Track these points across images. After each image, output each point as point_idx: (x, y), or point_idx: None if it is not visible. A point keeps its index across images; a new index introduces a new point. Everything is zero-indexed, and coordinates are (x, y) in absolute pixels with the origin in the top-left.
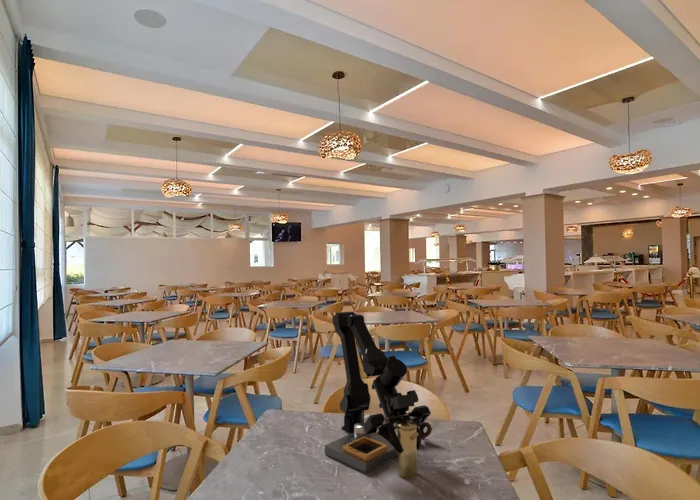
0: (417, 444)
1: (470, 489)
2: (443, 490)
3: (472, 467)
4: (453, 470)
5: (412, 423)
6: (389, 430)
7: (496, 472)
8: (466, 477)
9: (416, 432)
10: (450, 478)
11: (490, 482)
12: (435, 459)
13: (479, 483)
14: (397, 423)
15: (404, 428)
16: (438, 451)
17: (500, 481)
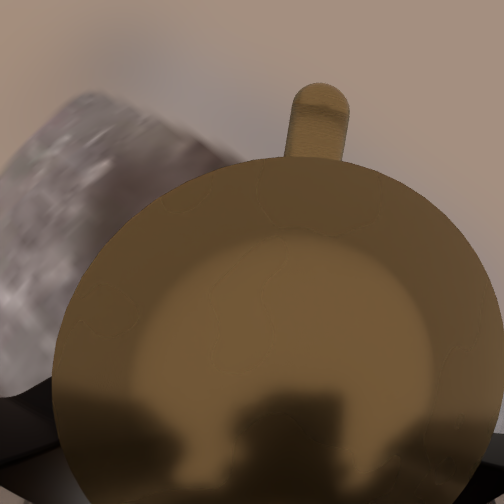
0: None
1: (132, 134)
2: (209, 170)
3: (15, 226)
4: (65, 249)
5: (161, 363)
6: (493, 433)
7: (9, 169)
8: (76, 189)
9: (331, 88)
10: (119, 213)
11: (61, 138)
12: (53, 360)
13: (83, 146)
14: (452, 495)
15: (469, 262)
16: (12, 391)
17: (44, 132)
